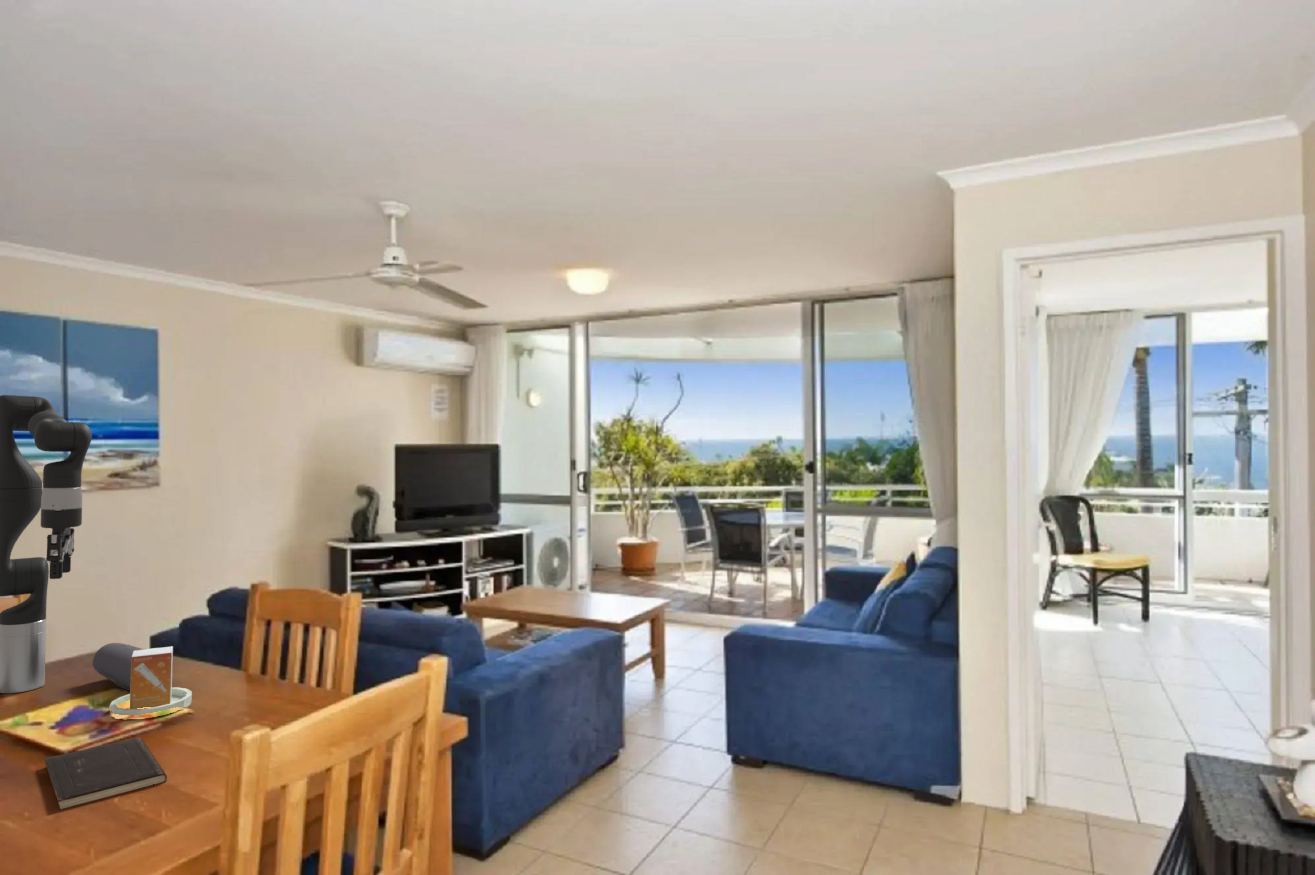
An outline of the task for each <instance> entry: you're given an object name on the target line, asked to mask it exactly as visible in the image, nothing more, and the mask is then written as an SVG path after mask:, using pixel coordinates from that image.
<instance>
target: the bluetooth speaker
mask: <svg viewBox="0 0 1315 875" xmlns="http://www.w3.org/2000/svg"><path fill="white" fill-rule="evenodd" d="M135 650H144V649H142V648H140V647H137V646H133V645H130V644H126V643H120V642H110V643H106V644H105V645H103V646H101V647H100V648H98V650H97V651H96V653H95V654H94V656H93V659H92V667H93V669H94V670H95V671H96V672H97V673H98V674H99V675H101V676H103V677H104V678H106V679H107V680H110V681H112V682H113V683H115V685H116V686H118V687H119V688H122V689H124V690H127V691H130V685H131V659H132V655H133V651H135Z"/></svg>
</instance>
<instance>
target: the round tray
mask: <svg viewBox="0 0 1315 875" xmlns="http://www.w3.org/2000/svg"><path fill="white" fill-rule="evenodd" d="M192 697H193V692H192V690H190V689H188V688H184V687H179V686H177V687H175V686H174V687H173V686H172V694H171V703H170V704H166V705H162V706H157V707H151V708H144V709H123V708H118V707H117V705H119V704H120V703H123V702H124V701H128V700H130V693H128V694H125V695H122V696H119V697H117V698H116V699H114V700H112V701H111V702H110V704H109V710H110V711H112V712H113V713H114V714H119V715H141V714H146V713H153V712H158V711H163V710H167V709H170V708H174V707H175V708H176V707H186V708H189V706H191V705H192V700H193V698H192Z"/></svg>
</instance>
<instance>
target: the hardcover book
mask: <svg viewBox="0 0 1315 875" xmlns="http://www.w3.org/2000/svg"><path fill="white" fill-rule="evenodd" d="M43 760H44V763H45V766H46V769H47V770H46V771H47V772H48V776H49V778H50V782H51V785H52V788H53V792H54V794H55V797H56V800H57V801H56V802H57V803H58V806H59V808H60V809H61V810H64V809H66V808H70V807H73V806H77V805H82V804H85V803H89V802H92V801H93V802H94V801H97V800H100V799H105V798H108V797H112V796H115V795H118V794H119V795H120V794H124V793H126V792H130V791H134V790H139V789H141V788H145V787H146V788H147V787H149V786H153V784H154V785H157V784H161V783H166V782H167V778H168V777H167V773H166V772H165V771H164V769H163V768H162V766H161V765H160V763H159V762H158V760H157V758H156V757H155V756H154V754H153V753H152V751H151V750H150V749H149V747H148V745H147V744H146V742H145V741H144V739H143V738H141V737H134V738H130V739H126V740H121V741H116V742H112V743H108V744H103V745H99V746H94V747H90V748H85V749H81V750H77V751H72V752H71V751H70V752H67V753H63V754H60V755H54V756H49V757H46V758H44V759H43ZM164 781H165V782H164Z"/></svg>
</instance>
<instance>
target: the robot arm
mask: <svg viewBox="0 0 1315 875" xmlns="http://www.w3.org/2000/svg"><path fill="white" fill-rule="evenodd" d="M14 432H29V433H30V435H31V436H33V438H34V439H33V440H34V444H35V447H36V448H37V449H38V450H40V451H43V452H46V453H47V452H48V453H51V452H53V453H56V452H58V453H61V452H62V453H64V452H65V453H66V452H67V453H69V452H70V453H69V455H68V456H67V457H66V458H65V459H62V460H59V461H53V462H48V463H46V464H44V467H43V469H42V479H41V477H40V475H39V473H38V472H37V471H36V470H35V469H34V467H33V466H32V465H31V464H30V463H29V462H28V460H27V459H26V457H25V456H24V455H23V453H22V452H21V451H20V449H19V447H18V445H17V443H16V439H15V434H14ZM92 439H93V434H92V430H91V428H90V427H89V426H88V425H87V423H84V422H78V421H77V422H75V421H71V422H70V421H68V420H66V419H65V418H63V417H61V416H59V415H58V413H57V411H56V409H55V408H54V406H53V405H52V404H51V402H50V401H49V400H48V399H46V398H44V397H42V396H33V395H31V396H30V395H29V396H28V395H14V394H13V395H11V394H2V395H0V597H1V598H2V597H10V596H22V595H29V597H27V598H26V599H25V600H23V601H21V602H20V603H18V604H16V605H13V606H10V607H9V608H6V609H4V610H2V611H0V694H15V693H16V694H17V693H23V692H28V691H32V690H36V689H38V688H41V687H43V686H44V685H45V684H46V683H45V682H46V679H45V678H46V650H47V649H46V645H47V644H46V641H47V640H46V639H47V598H48V585H49V579H50V580H57V579H59V580H60V579H62V578H63V574H64V573H65V574H66V573H70V572H71V571H72V569H71V565H72V556H73V553H74V551H75V529H74V528H76V527H80V526H81V525H82V523H83V522H82V521H83V520H82V519H83V518H82V517H83V492H82V473H83V472H82V469H83V466H84V462H85V458H86V455H87V452H88V450H89V448H90V446H91V443H92ZM39 512H40V527H41V528H43V529H51V534H47V536H46V539H47V541H46V542H47V543H46V557H41V556H38V557H24V558H21V557H20V558H12V559H11V555H12V552H13V549H14V547H15V545H16V543H17V541H18V540H19V538H20V536H21V535H22V534H23V532H24V531H25V530H26V528H27V527H28V526H29V525H30V524H31V523H32V521H33V520H34V519H35V518H36V516H37V515H38V514H39Z"/></svg>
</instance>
